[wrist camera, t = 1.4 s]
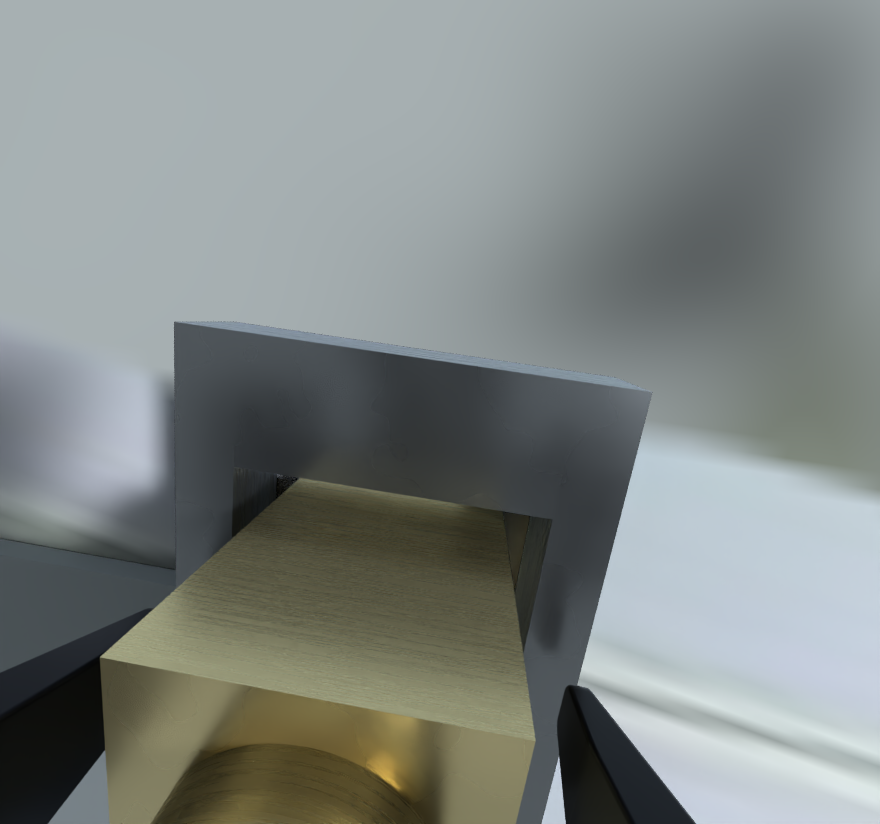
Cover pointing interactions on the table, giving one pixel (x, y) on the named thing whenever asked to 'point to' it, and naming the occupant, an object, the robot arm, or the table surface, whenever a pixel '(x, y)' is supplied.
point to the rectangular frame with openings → (417, 465)
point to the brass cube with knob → (328, 673)
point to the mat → (70, 625)
